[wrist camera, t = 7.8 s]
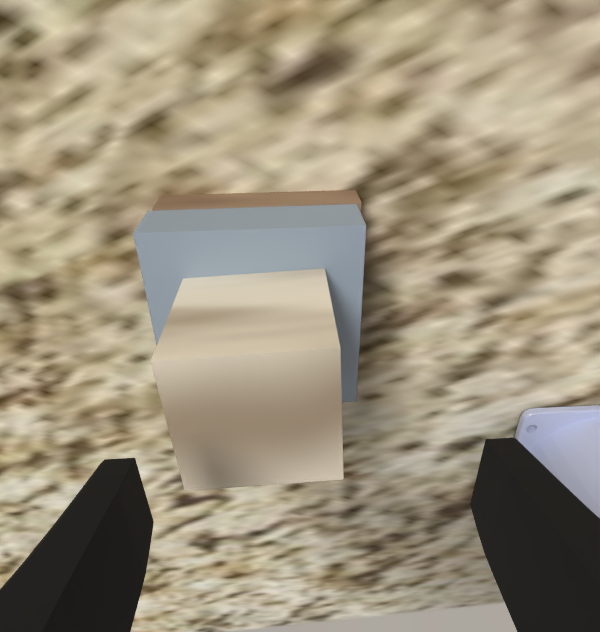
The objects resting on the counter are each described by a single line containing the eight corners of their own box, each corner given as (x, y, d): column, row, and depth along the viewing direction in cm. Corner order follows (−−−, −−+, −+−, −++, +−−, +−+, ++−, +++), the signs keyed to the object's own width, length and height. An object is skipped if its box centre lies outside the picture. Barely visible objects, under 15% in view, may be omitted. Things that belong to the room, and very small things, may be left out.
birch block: (329, 380, 18) (343, 479, 14) (205, 390, 18) (185, 491, 14) (324, 268, 15) (340, 348, 11) (182, 278, 15) (150, 361, 11)
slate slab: (349, 368, 20) (356, 401, 18) (178, 376, 20) (170, 409, 18) (356, 203, 16) (366, 225, 15) (147, 210, 16) (132, 233, 14)
